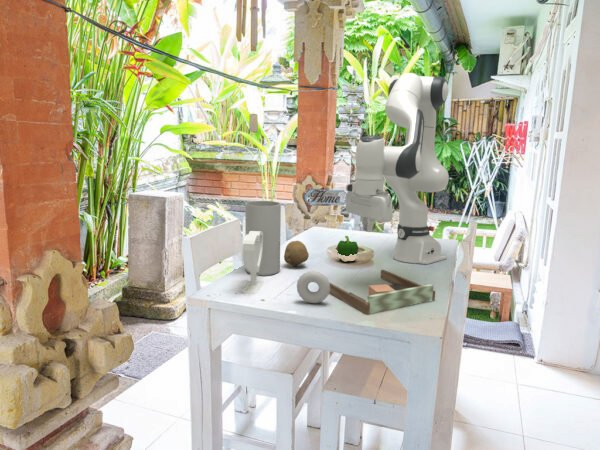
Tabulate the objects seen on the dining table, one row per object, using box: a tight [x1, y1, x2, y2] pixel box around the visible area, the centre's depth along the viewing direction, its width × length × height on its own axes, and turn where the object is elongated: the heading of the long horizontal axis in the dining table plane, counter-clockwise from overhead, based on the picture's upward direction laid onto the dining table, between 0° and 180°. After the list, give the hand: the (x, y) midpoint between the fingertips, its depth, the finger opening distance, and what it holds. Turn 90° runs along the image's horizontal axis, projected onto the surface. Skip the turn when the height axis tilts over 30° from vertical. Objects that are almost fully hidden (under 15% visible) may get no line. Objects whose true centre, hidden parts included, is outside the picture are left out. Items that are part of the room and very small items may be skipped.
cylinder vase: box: [244, 200, 282, 277], centre depth 166 cm, size 12×12×25 cm
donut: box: [296, 270, 331, 304], centre depth 137 cm, size 10×4×10 cm, turn 81°
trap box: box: [328, 269, 436, 315], centre depth 146 cm, size 26×25×5 cm
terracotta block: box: [367, 283, 395, 297], centre depth 141 cm, size 6×6×4 cm
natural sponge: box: [283, 240, 310, 267], centre depth 174 cm, size 9×9×10 cm
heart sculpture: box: [241, 231, 265, 295], centre depth 149 cm, size 16×5×18 cm, turn 174°
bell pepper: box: [336, 235, 359, 256], centre depth 183 cm, size 8×8×10 cm
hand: (367, 230), depth 148 cm, fingers closed
